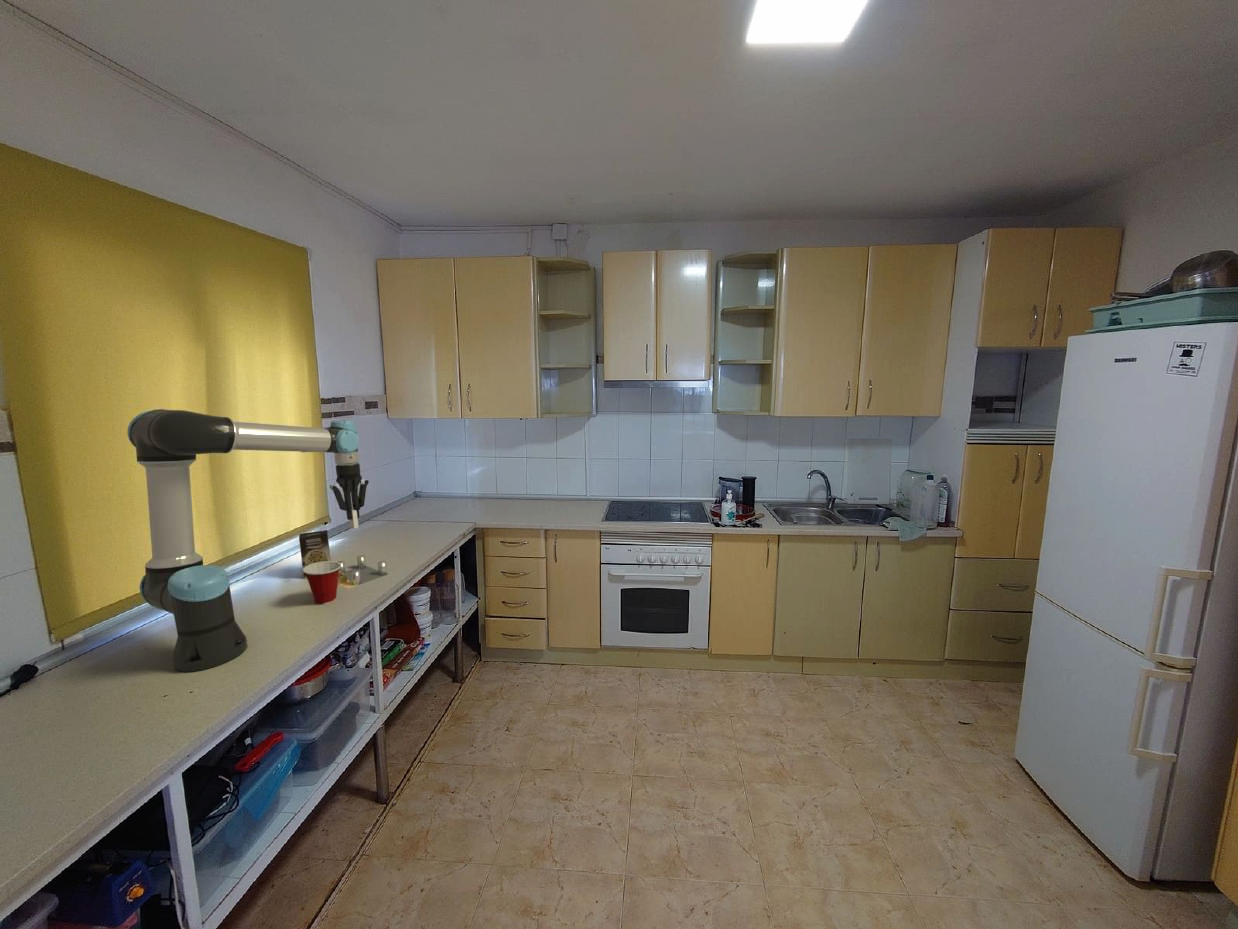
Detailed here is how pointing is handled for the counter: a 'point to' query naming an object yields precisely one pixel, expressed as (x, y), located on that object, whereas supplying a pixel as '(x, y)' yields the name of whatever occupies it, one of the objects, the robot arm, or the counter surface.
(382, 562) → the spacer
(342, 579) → the tan faceted flat piece
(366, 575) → the mat
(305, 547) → the coffee box
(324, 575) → the plastic cup
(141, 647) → the counter surface
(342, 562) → the spacer
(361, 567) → the ball
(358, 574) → the spacer
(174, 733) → the counter surface
